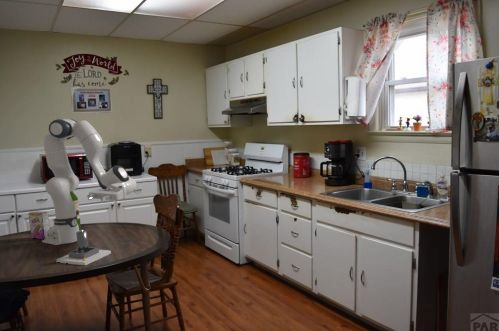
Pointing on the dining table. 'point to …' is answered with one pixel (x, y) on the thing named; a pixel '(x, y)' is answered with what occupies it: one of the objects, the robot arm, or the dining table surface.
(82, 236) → the battery cell
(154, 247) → the dining table surface
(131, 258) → the dining table surface
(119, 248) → the dining table surface
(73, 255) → the white board with tray
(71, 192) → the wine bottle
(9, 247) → the dining table surface
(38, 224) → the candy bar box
